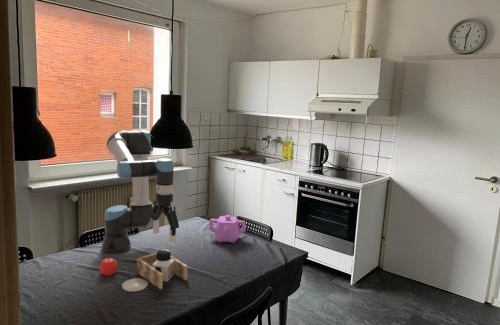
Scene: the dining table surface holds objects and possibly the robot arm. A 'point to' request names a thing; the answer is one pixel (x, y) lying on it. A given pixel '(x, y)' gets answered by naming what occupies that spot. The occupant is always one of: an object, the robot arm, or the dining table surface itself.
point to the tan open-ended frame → (154, 275)
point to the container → (164, 264)
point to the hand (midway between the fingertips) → (164, 237)
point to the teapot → (227, 228)
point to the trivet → (134, 285)
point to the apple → (108, 266)
